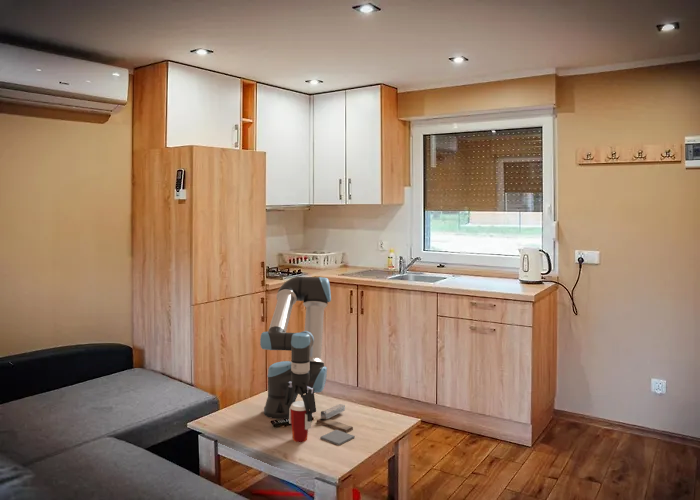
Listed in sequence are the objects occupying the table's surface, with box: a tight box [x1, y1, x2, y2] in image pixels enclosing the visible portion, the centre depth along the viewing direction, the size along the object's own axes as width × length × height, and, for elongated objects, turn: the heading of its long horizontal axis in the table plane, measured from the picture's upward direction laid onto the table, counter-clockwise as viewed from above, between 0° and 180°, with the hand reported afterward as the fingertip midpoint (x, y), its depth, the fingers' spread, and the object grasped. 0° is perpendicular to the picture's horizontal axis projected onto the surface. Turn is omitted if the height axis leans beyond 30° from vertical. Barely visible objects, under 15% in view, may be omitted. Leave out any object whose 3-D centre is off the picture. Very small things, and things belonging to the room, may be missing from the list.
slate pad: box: [320, 429, 355, 446], centre depth 238 cm, size 10×10×1 cm
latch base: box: [316, 417, 354, 434], centre depth 251 cm, size 17×4×1 cm, turn 51°
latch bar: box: [320, 403, 346, 419], centre depth 260 cm, size 15×3×3 cm, turn 144°
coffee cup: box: [290, 400, 309, 443], centre depth 236 cm, size 8×8×15 cm
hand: (299, 425), depth 236 cm, fingers closed on coffee cup, 8 cm apart
